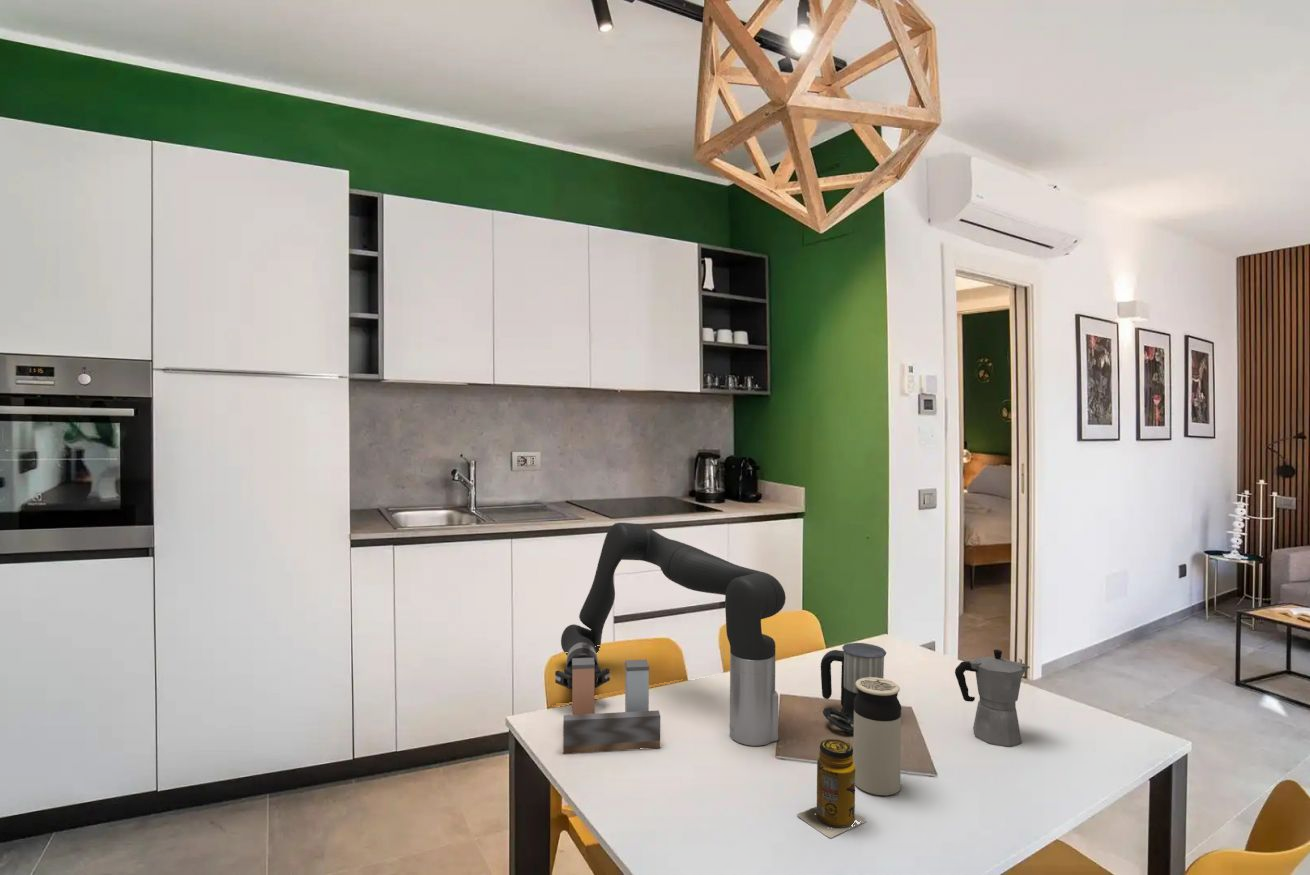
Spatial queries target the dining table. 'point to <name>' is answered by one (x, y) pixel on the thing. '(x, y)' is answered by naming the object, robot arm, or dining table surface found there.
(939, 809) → the dining table surface
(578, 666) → the orange-brown tall block
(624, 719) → the base
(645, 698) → the grey tall block
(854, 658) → the milk frother
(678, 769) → the dining table surface
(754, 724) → the robot arm
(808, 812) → the condiment
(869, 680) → the travel mug
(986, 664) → the coffeepot
